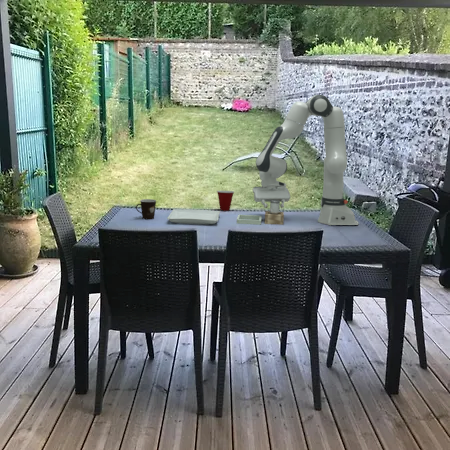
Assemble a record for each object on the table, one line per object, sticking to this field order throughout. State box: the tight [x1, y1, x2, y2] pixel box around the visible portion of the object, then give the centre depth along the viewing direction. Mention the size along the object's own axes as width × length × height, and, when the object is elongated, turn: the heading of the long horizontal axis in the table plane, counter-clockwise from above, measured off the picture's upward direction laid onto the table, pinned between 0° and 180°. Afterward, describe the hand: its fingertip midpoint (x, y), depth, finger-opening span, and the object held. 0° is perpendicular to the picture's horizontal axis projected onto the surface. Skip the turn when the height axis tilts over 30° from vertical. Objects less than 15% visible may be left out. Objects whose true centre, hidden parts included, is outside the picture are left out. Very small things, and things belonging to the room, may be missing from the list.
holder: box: [264, 210, 285, 226], centre depth 278 cm, size 10×10×6 cm
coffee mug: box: [135, 198, 157, 221], centre depth 281 cm, size 12×9×10 cm
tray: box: [236, 214, 263, 225], centre depth 278 cm, size 13×13×3 cm
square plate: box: [166, 208, 221, 225], centre depth 282 cm, size 27×27×4 cm
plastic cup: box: [216, 190, 235, 212], centre depth 311 cm, size 11×11×12 cm
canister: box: [269, 200, 281, 215], centre depth 277 cm, size 5×5×12 cm
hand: (274, 207), depth 277 cm, fingers open, 8 cm apart
